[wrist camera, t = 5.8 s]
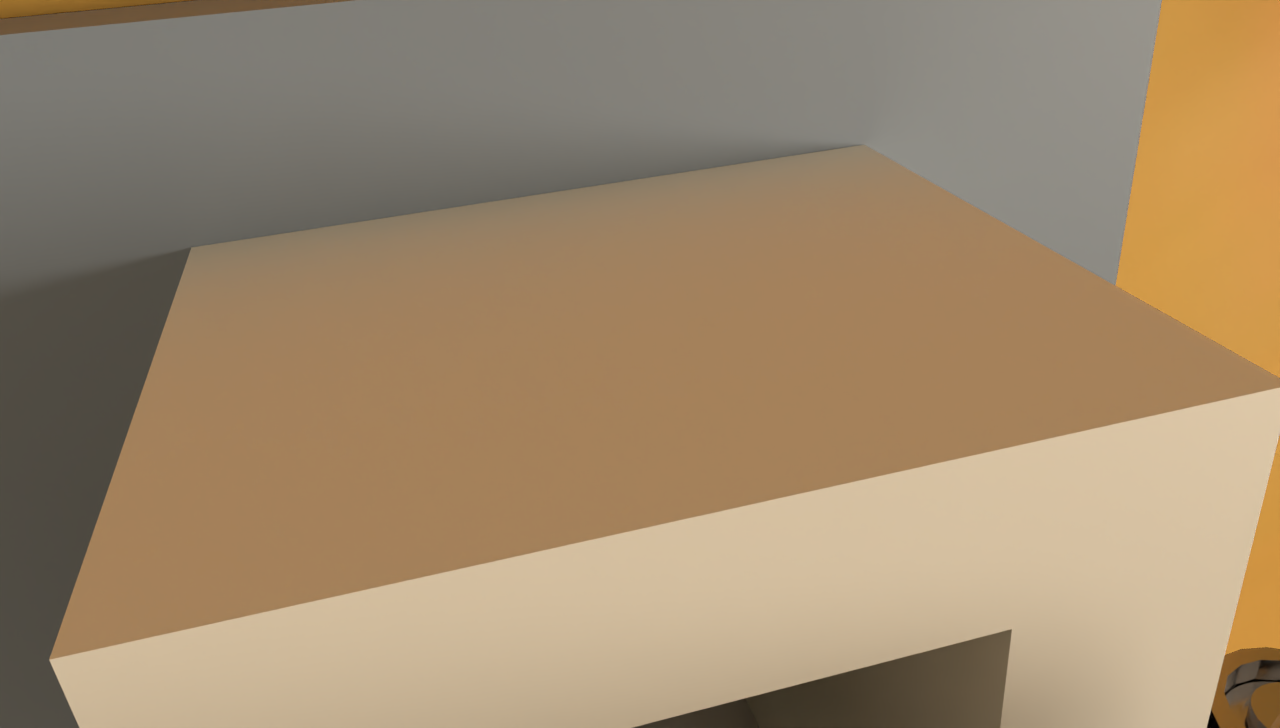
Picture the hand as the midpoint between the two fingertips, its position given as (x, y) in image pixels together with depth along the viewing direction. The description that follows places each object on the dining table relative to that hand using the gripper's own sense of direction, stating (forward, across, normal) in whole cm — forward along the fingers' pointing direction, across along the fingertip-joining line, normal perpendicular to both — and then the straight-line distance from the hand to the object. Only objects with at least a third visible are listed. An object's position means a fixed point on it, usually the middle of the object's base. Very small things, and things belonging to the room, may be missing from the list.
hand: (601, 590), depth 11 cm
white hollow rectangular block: (0, 0, 0) cm, 0 cm away
